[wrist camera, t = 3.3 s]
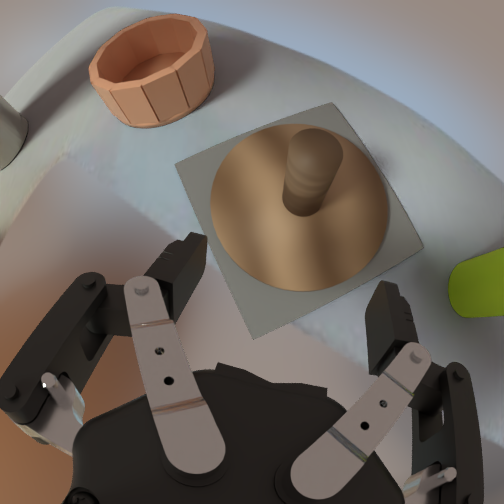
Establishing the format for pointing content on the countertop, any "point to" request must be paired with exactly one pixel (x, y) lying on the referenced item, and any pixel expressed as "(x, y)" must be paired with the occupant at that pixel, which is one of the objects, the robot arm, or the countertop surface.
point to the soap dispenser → (478, 286)
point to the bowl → (154, 70)
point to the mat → (267, 297)
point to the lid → (298, 207)
